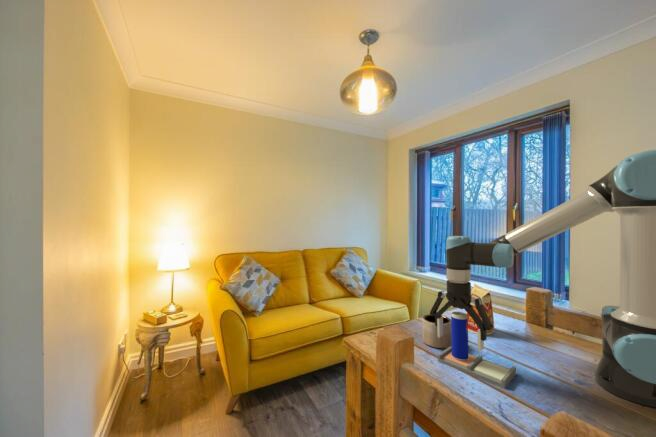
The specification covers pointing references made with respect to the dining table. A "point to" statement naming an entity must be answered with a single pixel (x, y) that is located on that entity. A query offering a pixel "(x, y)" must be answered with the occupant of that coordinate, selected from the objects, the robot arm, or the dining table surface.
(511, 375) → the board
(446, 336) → the planter
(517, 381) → the dining table surface
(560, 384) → the dining table surface
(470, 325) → the milk carton
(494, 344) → the dining table surface
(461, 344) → the beverage can
